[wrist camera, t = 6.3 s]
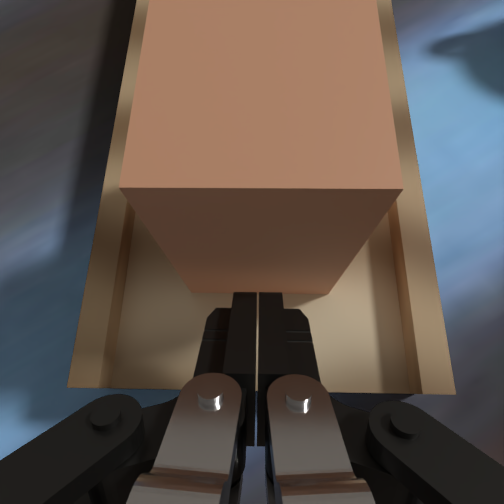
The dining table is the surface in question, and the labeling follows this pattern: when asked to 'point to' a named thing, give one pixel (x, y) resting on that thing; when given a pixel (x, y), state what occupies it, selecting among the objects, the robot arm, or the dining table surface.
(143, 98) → the terracotta block
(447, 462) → the robot arm
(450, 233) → the dining table surface
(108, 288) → the tray
